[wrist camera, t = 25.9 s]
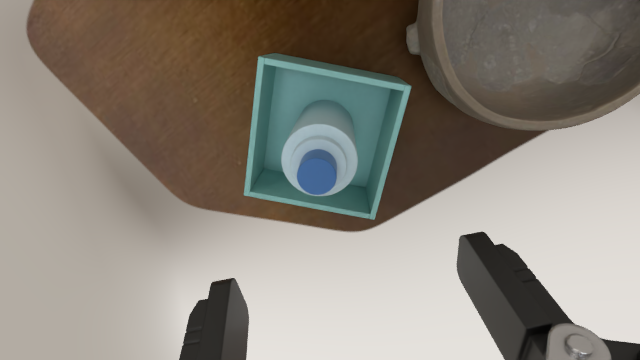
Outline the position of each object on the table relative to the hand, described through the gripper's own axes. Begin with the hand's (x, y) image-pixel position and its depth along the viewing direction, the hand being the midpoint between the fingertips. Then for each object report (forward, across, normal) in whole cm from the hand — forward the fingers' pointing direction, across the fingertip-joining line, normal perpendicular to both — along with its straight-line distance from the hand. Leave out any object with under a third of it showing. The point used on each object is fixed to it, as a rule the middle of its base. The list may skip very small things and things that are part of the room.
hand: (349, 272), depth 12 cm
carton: (+24, -1, +6) cm, 24 cm away
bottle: (+23, -1, +5) cm, 24 cm away
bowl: (+23, -18, -3) cm, 30 cm away
